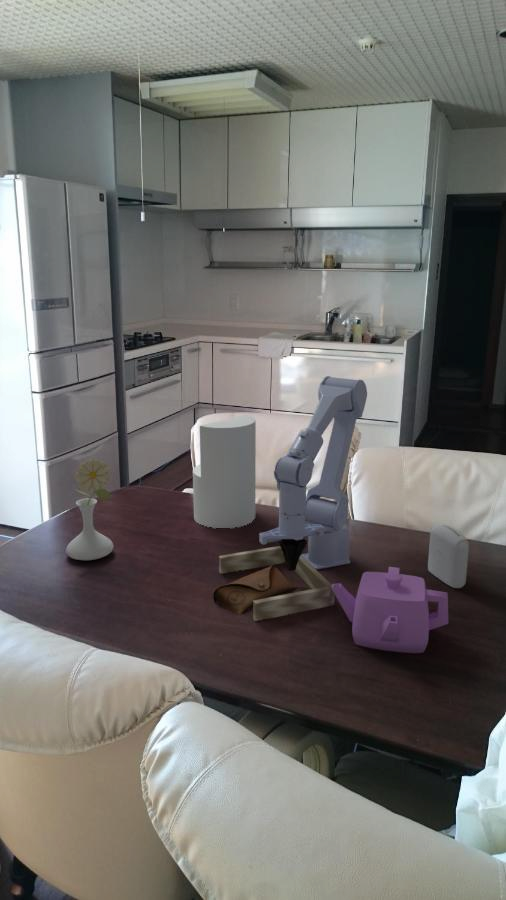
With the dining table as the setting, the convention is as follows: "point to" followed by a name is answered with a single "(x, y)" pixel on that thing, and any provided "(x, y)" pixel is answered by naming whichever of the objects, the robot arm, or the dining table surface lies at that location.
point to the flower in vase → (90, 512)
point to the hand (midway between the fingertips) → (291, 568)
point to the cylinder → (226, 473)
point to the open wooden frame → (286, 603)
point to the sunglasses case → (252, 589)
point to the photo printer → (448, 555)
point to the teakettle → (392, 611)
